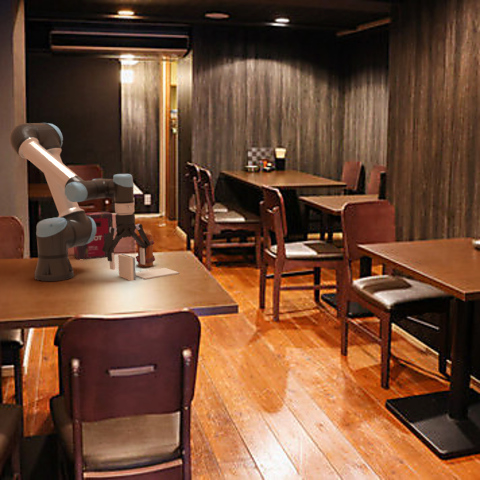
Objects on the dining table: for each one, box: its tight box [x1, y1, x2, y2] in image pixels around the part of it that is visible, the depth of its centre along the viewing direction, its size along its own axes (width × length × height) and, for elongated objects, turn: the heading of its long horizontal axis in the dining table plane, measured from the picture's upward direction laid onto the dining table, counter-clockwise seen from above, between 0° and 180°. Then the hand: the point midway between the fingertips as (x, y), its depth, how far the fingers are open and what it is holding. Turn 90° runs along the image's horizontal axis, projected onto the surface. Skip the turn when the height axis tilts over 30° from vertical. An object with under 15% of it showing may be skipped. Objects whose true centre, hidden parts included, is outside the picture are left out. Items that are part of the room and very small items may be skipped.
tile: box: [117, 253, 137, 282], centre depth 264 cm, size 10×2×9 cm, turn 38°
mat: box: [136, 267, 180, 281], centre depth 271 cm, size 11×16×1 cm
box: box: [73, 211, 115, 261], centre depth 305 cm, size 16×9×20 cm, turn 115°
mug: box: [135, 228, 156, 268], centre depth 287 cm, size 15×8×15 cm, turn 14°
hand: (127, 266), depth 263 cm, fingers open, 13 cm apart
